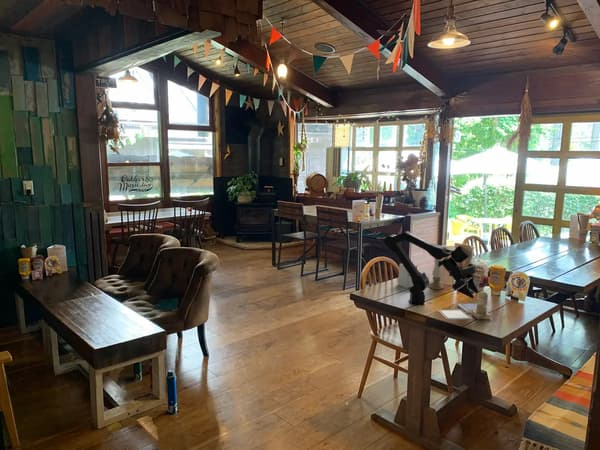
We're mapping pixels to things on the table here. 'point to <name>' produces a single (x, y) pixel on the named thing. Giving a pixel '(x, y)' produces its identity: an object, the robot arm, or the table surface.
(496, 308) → the table surface
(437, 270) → the candle holder
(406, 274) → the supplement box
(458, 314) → the marked card
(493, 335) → the table surface
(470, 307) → the ink pad
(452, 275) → the robot arm
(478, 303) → the wooden stamp
